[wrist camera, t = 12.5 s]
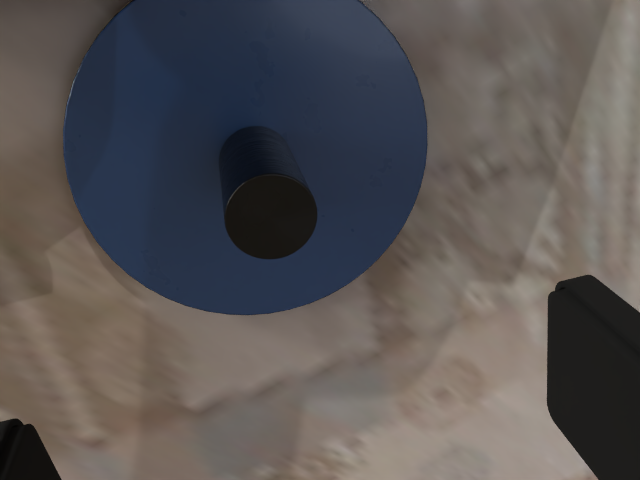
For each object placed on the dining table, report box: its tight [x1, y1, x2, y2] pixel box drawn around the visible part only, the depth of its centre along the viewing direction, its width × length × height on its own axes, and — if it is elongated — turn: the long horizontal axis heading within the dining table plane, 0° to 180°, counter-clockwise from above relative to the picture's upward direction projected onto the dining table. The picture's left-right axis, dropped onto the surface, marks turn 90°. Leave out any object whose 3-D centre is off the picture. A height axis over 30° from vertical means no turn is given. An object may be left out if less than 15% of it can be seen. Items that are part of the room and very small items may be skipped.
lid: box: [63, 0, 428, 315], centre depth 22 cm, size 15×15×7 cm
